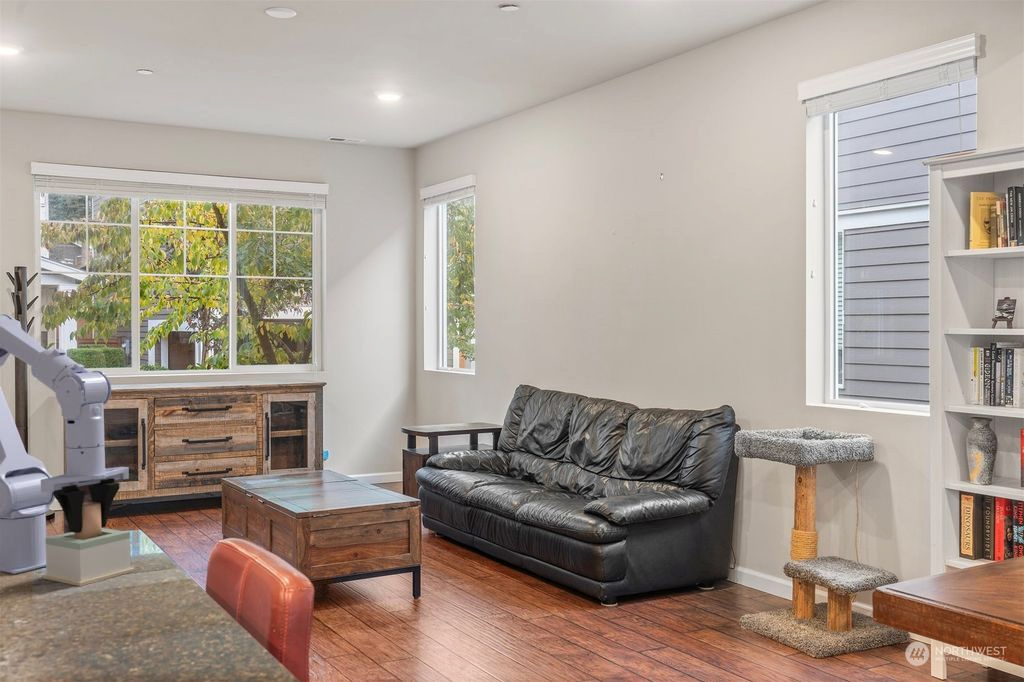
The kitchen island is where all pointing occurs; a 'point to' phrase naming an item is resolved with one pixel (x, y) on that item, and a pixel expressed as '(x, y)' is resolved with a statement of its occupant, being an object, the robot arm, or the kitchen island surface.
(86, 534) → the peg
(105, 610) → the kitchen island surface
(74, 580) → the socket
